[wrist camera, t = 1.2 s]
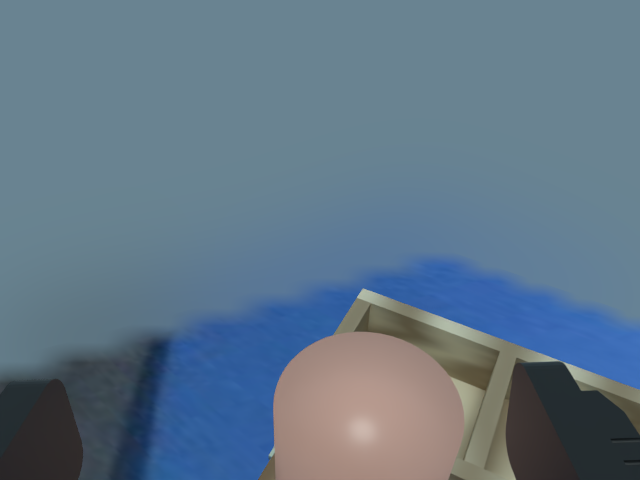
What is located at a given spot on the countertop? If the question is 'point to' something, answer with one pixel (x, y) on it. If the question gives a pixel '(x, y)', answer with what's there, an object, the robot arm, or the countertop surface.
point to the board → (269, 470)
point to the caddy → (474, 377)
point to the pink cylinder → (365, 412)
